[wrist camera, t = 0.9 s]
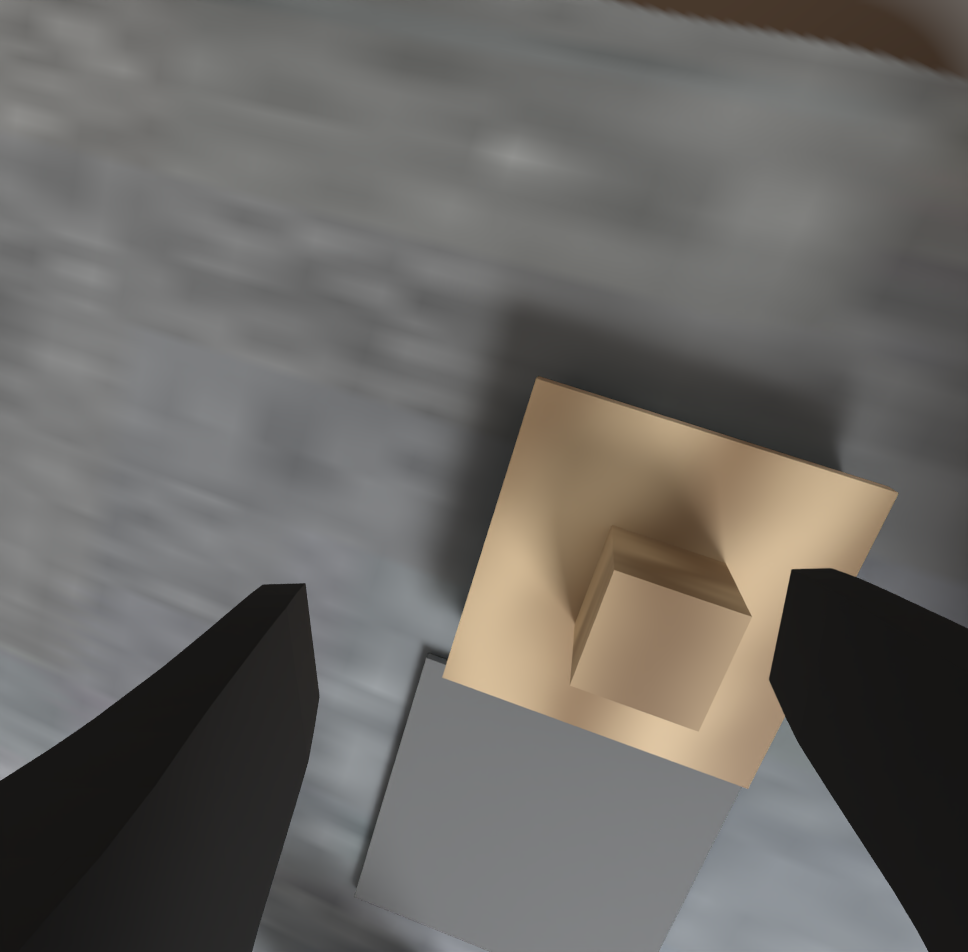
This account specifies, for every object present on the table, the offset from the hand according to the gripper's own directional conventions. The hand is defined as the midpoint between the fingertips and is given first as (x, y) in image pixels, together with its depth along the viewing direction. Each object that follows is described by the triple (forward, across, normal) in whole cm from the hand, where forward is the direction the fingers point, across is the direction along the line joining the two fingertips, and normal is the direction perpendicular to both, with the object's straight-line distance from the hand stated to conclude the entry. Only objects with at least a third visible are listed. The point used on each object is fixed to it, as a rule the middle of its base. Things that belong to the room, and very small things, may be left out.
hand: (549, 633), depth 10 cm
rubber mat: (+13, -2, +20) cm, 24 cm away
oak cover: (+12, -6, +7) cm, 15 cm away
